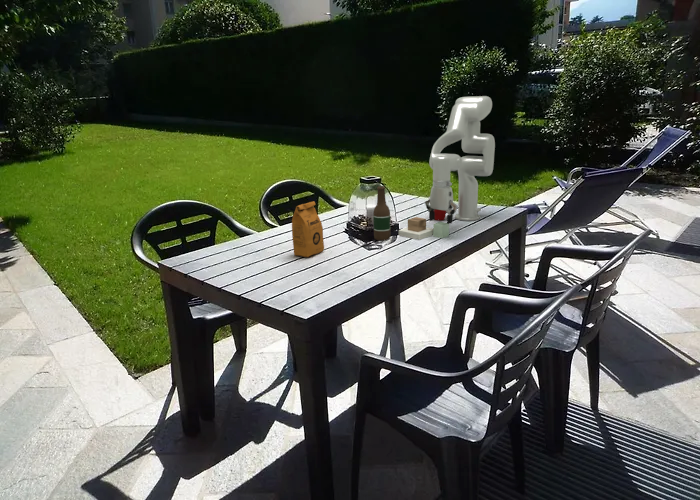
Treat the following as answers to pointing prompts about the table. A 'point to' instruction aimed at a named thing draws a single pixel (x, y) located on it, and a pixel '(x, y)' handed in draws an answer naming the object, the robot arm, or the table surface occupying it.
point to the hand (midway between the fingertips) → (440, 221)
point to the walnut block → (416, 224)
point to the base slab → (416, 233)
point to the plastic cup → (439, 214)
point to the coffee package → (307, 231)
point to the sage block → (440, 230)
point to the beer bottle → (381, 217)
